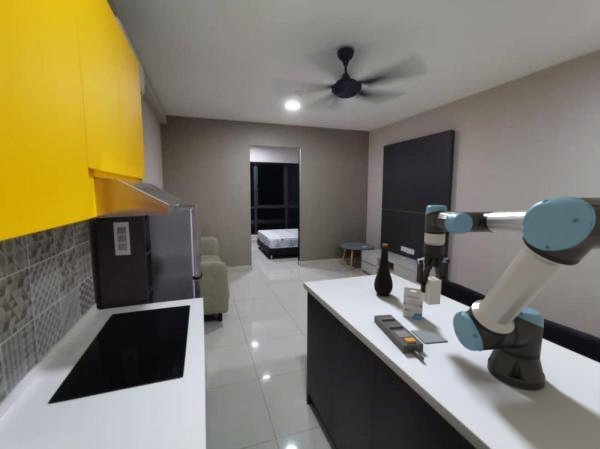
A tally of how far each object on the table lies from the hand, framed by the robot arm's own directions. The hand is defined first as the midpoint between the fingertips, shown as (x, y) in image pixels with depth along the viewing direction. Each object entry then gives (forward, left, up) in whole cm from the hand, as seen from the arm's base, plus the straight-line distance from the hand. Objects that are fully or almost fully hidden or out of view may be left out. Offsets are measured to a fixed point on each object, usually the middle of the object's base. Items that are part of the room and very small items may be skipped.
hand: (430, 299), depth 115 cm
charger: (0, 0, -1) cm, 1 cm away
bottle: (+49, -3, -16) cm, 52 cm away
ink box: (+19, -4, -16) cm, 25 cm away
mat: (0, 0, -16) cm, 16 cm away
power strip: (0, +13, -16) cm, 21 cm away
